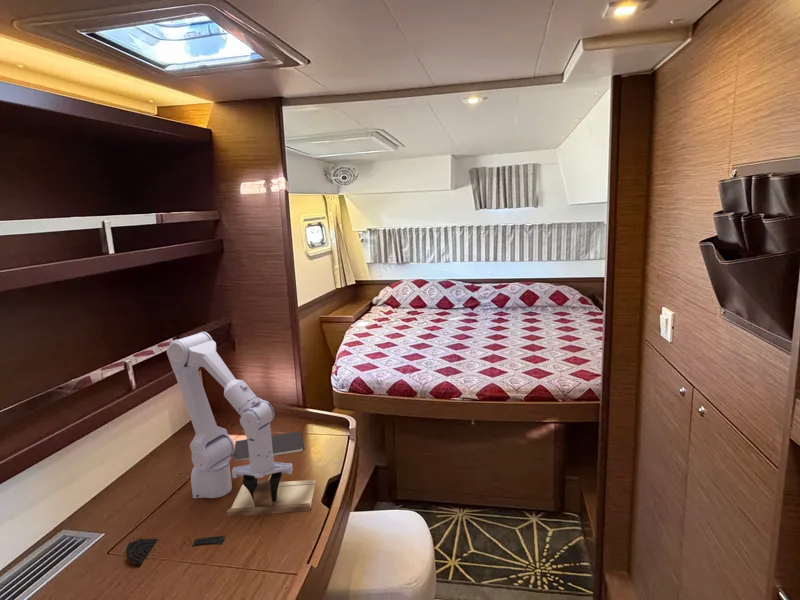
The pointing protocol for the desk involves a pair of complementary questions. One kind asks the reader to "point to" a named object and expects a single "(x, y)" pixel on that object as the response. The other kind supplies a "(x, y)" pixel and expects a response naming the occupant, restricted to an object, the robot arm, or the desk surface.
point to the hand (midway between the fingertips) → (265, 500)
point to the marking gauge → (263, 493)
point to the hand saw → (179, 475)
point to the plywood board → (288, 499)
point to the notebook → (273, 445)
